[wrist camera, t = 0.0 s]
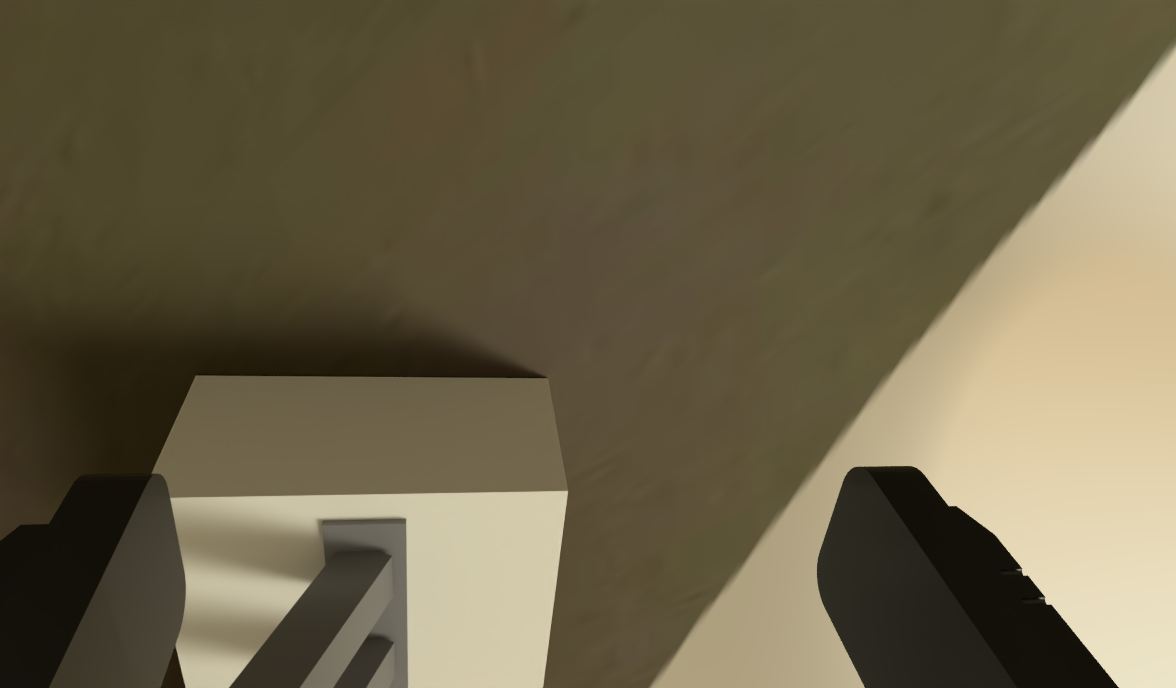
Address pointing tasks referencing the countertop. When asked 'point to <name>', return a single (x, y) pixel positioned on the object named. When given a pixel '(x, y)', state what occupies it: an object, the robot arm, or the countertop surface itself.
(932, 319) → the countertop surface
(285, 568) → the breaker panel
